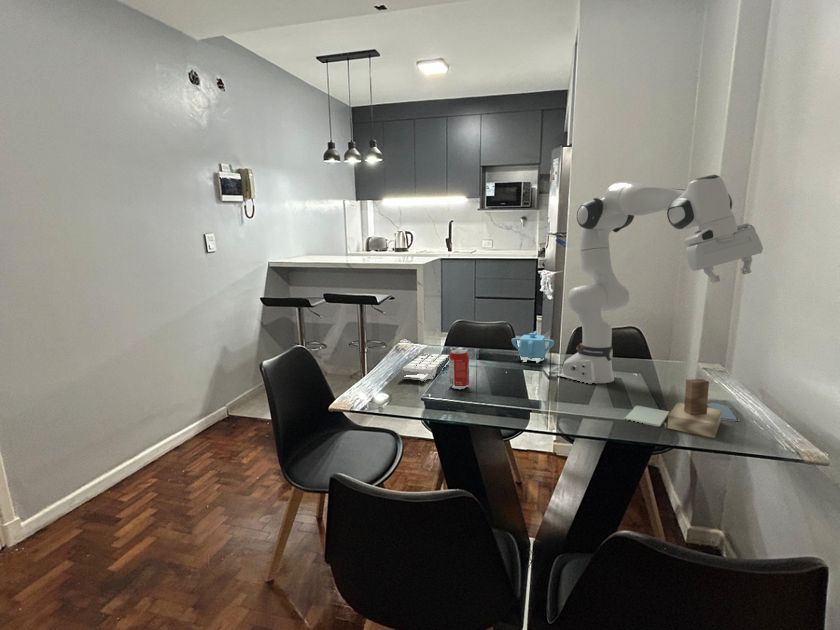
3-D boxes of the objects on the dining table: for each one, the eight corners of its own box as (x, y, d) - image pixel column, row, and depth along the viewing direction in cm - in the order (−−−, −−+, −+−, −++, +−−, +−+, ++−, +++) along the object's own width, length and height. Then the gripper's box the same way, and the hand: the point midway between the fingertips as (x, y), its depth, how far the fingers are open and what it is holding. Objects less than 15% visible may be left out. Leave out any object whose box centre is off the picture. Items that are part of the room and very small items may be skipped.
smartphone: (712, 418, 142) (703, 401, 156) (712, 421, 142) (703, 404, 156) (740, 421, 139) (728, 404, 153) (740, 424, 139) (728, 406, 153)
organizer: (449, 355, 216) (425, 374, 183) (449, 364, 216) (425, 386, 184) (423, 353, 220) (395, 372, 187) (423, 363, 221) (395, 383, 188)
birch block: (667, 428, 136) (668, 415, 135) (676, 414, 147) (677, 402, 146) (714, 437, 128) (715, 424, 128) (720, 422, 139) (721, 410, 139)
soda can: (446, 389, 178) (445, 352, 176) (454, 384, 185) (453, 348, 182) (464, 392, 174) (464, 354, 172) (472, 386, 181) (471, 349, 179)
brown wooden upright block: (690, 414, 135) (692, 382, 134) (684, 411, 138) (686, 379, 137) (706, 414, 136) (708, 382, 134) (700, 410, 138) (702, 379, 137)
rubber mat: (624, 419, 143) (624, 418, 143) (636, 407, 154) (636, 405, 154) (659, 427, 137) (659, 425, 137) (669, 413, 148) (669, 411, 147)
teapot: (557, 362, 214) (557, 334, 212) (526, 366, 209) (527, 337, 207) (535, 354, 231) (535, 328, 229) (507, 357, 226) (507, 331, 224)
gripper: (743, 224, 132) (756, 270, 132) (678, 241, 131) (691, 287, 131) (761, 219, 126) (774, 267, 126) (692, 237, 125) (706, 286, 125)
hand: (731, 277), depth 128 cm, fingers open, 8 cm apart
